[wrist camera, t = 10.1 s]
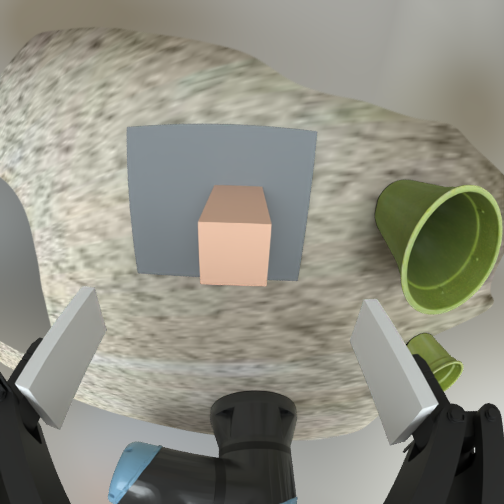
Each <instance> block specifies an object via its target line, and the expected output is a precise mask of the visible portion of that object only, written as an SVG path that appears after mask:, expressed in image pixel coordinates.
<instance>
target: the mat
mask: <svg viewBox="0 0 504 504" xmlns="http://www.w3.org/2000/svg"><path fill="white" fill-rule="evenodd" d="M316 139H317V132H316V131H309V130H300V129H291V128H281V127H269V126H255V125H234V124H170V125H150V126H136V127H127V168H128V187H129V201H130V213H131V223H132V233H133V241H134V249H135V257H136V264H137V270H138V273H143V274H158V275H174V276H191V277H200V265H199V240H198V221H199V218H200V216H201V214H202V212H203V209H204V207H205V205H206V203H207V200H208V198H209V196H210V194H211V192H212V189H213V187H214V185H234V186H260V187H262V188H263V192H264V196H265V200H266V204H267V208H268V212H269V216H270V220H271V224H272V226H271V238H270V250H269V262H268V273H267V280H285V281H298V275H299V269H300V263H301V256H302V250H303V243H304V237H305V230H306V223H307V215H308V208H309V200H310V192H311V184H312V176H313V167H314V158H315V149H316Z"/></svg>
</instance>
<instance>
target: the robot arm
mask: <svg viewBox="0 0 504 504" xmlns="http://www.w3.org/2000/svg"><path fill="white" fill-rule="evenodd" d="M106 331H107V329H106V326H105V322H104V319H103V316H102V312H101V309H100V305H99V301H98V297H97V294H96V290H95V287H86V286H82V288H81V289H80V290H79V291H78V293H77V294H76V295H75V296H74V298H73V299H72V300H71V302H70V303H69V304H68V305H67V307H66V308H65V309H64V311H63V312H62V313H61V315H60V316H59V317H58V319H57V320H56V322H55V323H54V324H53V326H52V327H51V329H50V330H49V331H48V333H47V334H46V336H45V337H44V338H38V339H37V340H36V341H35V342H34V343H32V344H31V346H30V347H29V349H28V350H27V352H26V353H25V354H24V356H23V358H22V360H21V361H20V362H19V364H18V365H17V367H16V368H15V370H14V372H13V373H12V375H11V376H10V378H9V380H8V381H6V380H5V378H4V377H3V375H2V374H1V372H0V504H71V503H70V501H69V499H68V497H67V495H66V493H65V491H64V488H63V486H62V484H61V482H60V479H59V477H58V474H57V472H56V470H55V467H54V464H53V462H52V459H51V456H50V453H49V451H48V448H47V445H46V442H45V438H44V435H43V432H42V428H41V426H40V424H39V422H38V421H39V419H40V417H41V418H42V419H43V421H44V422H45V423H46V424H47V425H50V426H52V427H54V428H57V429H61V427H62V424H63V422H64V419H65V417H66V414H67V412H68V409H69V407H70V405H71V403H72V400H73V398H74V396H75V394H76V391H77V389H78V387H79V385H80V383H81V381H82V378H83V376H84V374H85V372H86V370H87V368H88V366H89V364H90V362H91V360H92V358H93V356H94V354H95V352H96V350H97V348H98V346H99V344H100V342H101V340H102V338H103V336H104V335H105V333H106ZM350 342H351V345H352V347H353V350H354V352H355V354H356V357H357V359H358V362H359V364H360V367H361V369H362V372H363V374H364V377H365V379H366V382H367V384H368V387H369V389H370V392H371V395H372V397H373V400H374V403H375V405H376V408H377V411H378V413H379V416H380V419H381V421H382V424H383V427H384V430H385V432H386V436H387V438H388V441H389V444H390V445H394V444H397V443H401V442H404V441H405V440H407V439H408V438H409V437H410V435H413V438H414V440H413V441H412V442H411V443H410V444H409V445H408V446H407V447H406V448H405V449H404V451H403V452H404V453H405V452H406V451H407V450H408V449H409V450H408V453H407V455H406V458H405V460H404V462H403V465H402V467H401V469H400V471H399V473H398V476H397V478H396V480H395V482H394V484H393V486H392V488H391V490H390V492H389V494H388V496H387V498H386V500H385V502H384V503H383V504H504V433H503V425H502V418H501V414H500V411H499V410H498V408H497V407H496V406H495V405H493V404H490V403H487V404H484V405H483V406H482V407H481V408H480V409H479V410H478V411H464V409H463V408H462V407H460V406H458V405H457V404H450V402H449V401H448V399H447V397H446V395H445V393H444V391H443V390H442V388H441V386H440V384H439V383H438V381H437V379H436V378H435V376H434V374H433V372H432V371H431V369H430V367H429V365H428V364H427V362H426V361H425V360H424V359H423V358H422V357H421V356H420V355H419V354H413V355H412V354H411V353H410V351H409V349H408V348H407V346H406V344H405V343H404V341H403V339H402V338H401V336H400V334H399V333H398V331H397V329H396V328H395V326H394V325H393V323H392V321H391V320H390V318H389V317H388V315H387V313H386V312H385V310H384V309H383V307H382V306H381V304H380V303H379V301H378V300H377V299H364V300H363V303H362V306H361V309H360V313H359V316H358V319H357V321H356V324H355V327H354V330H353V333H352V336H351V339H350ZM210 420H211V425H212V428H213V432H214V435H215V437H216V441H217V444H218V447H219V458H216V457H209V456H204V455H198V454H192V453H187V452H182V451H178V450H173V449H169V448H165V447H162V446H161V445H159V446H155V445H151V444H147V443H142V442H132V443H130V444H129V445H128V446H127V447H126V448H125V450H124V451H123V453H122V455H121V457H120V459H119V462H118V464H117V466H116V469H115V471H114V474H113V477H112V480H111V484H110V488H109V494H108V499H109V501H110V502H111V503H113V504H297V497H296V490H295V482H294V474H293V465H292V458H291V449H290V445H291V441H292V438H293V434H294V430H295V425H296V421H297V414H296V408H295V405H294V403H293V402H292V401H291V400H290V399H288V398H287V397H285V396H282V395H279V394H276V393H271V392H263V391H248V392H240V393H235V394H231V395H228V396H225V397H223V398H221V399H219V400H218V401H217V402H215V403H214V405H213V406H212V408H211V418H210ZM474 447H475V453H474Z"/></svg>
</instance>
